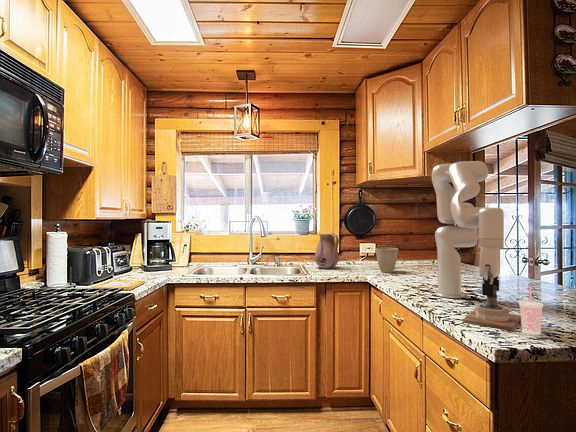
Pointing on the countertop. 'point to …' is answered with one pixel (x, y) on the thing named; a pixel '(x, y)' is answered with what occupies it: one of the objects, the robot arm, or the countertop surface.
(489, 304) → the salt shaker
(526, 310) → the beverage cup
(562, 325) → the countertop surface
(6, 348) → the countertop surface
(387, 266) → the plant pot
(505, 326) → the board
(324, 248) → the ceramic pitcher
